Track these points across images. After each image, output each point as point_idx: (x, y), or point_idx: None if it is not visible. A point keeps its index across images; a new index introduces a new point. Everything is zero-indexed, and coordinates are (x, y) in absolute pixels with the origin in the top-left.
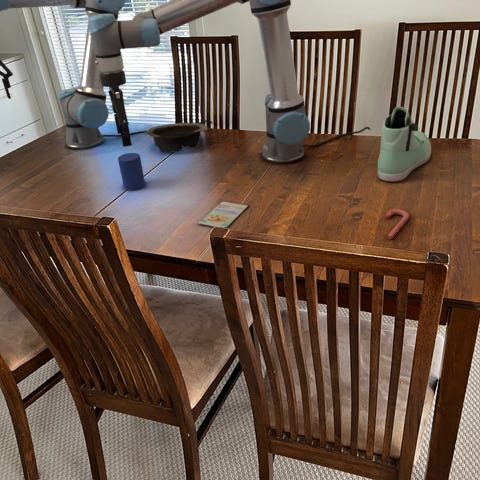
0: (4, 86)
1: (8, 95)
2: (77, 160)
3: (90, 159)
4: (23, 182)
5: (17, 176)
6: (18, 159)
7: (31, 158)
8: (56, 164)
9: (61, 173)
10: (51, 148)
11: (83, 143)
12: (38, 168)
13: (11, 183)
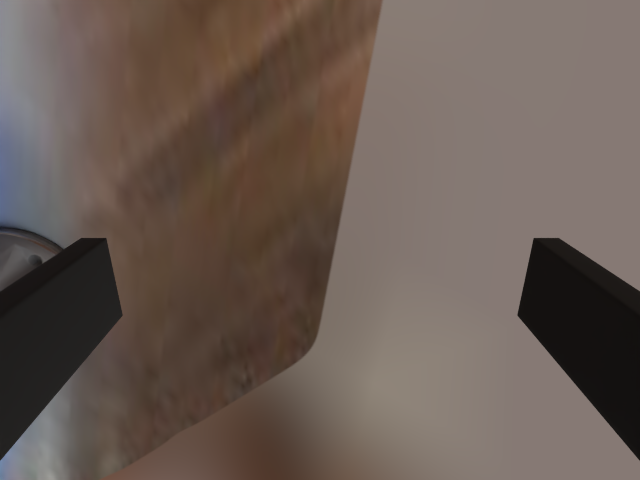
0: (25, 361)
1: (76, 252)
2: (66, 124)
3: (10, 94)
4: (301, 29)
5: (309, 121)
6: (276, 298)
7: (233, 276)
8: (152, 141)
9: (143, 13)
10: (153, 325)
11: (12, 241)
12: (223, 149)
13: (344, 56)
